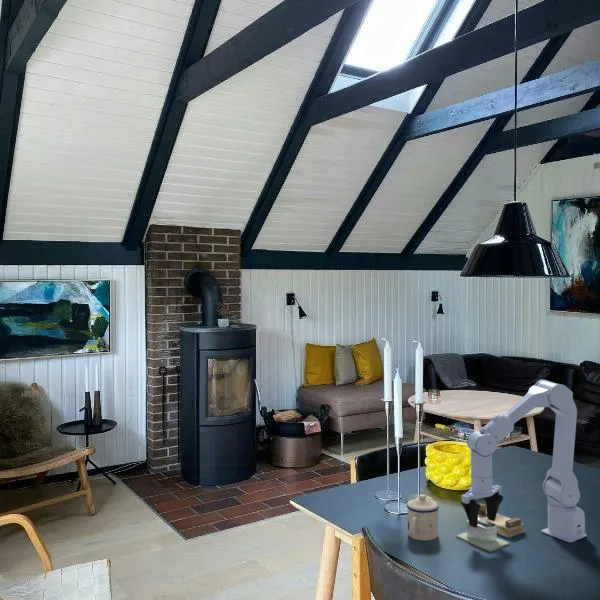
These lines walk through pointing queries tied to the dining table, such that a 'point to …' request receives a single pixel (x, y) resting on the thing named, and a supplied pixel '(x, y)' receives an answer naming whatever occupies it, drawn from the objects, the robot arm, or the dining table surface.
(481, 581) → the dining table surface
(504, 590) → the dining table surface
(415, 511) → the teacup with lid
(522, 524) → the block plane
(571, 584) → the dining table surface
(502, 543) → the mat
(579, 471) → the dining table surface
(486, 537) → the pale grey box
